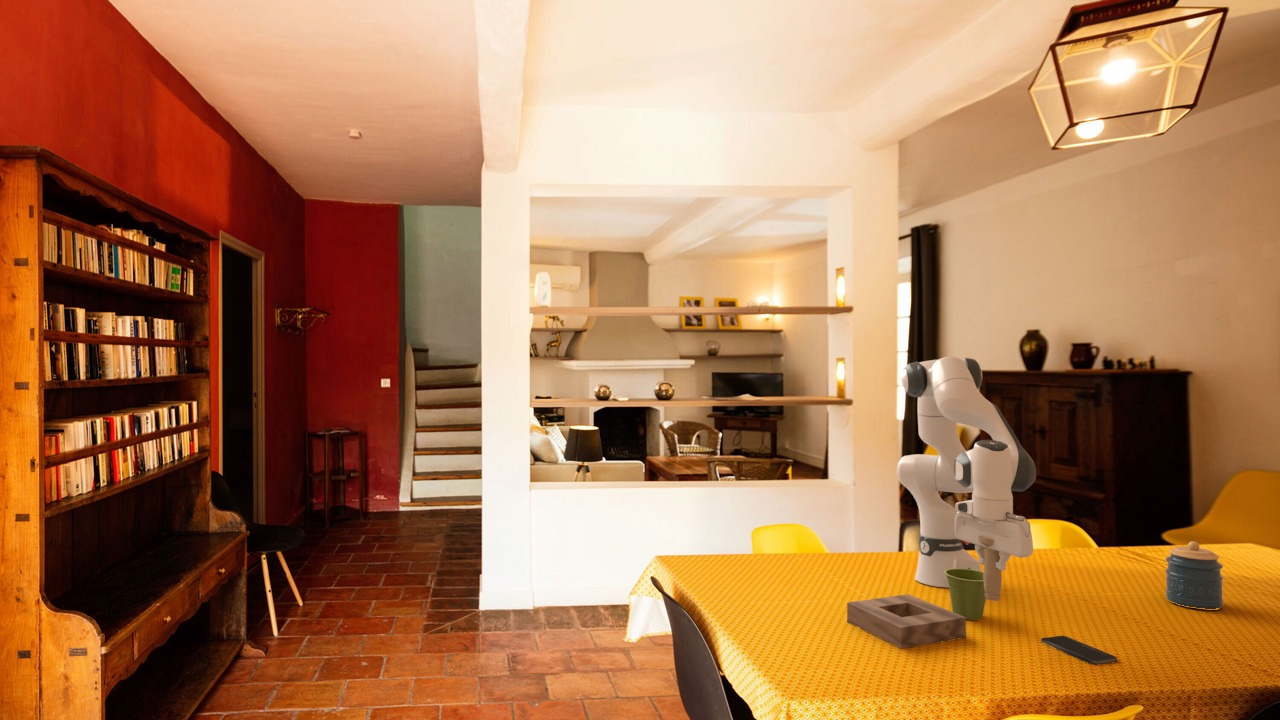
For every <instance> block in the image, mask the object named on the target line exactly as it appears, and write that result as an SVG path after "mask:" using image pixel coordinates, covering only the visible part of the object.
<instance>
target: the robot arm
mask: <svg viewBox="0 0 1280 720" xmlns="http://www.w3.org/2000/svg"><path fill="white" fill-rule="evenodd" d="M982 381H983V372H982V368H981V365H980V364H979V362H978V361H977V360H976V359H975V358H974V359H973V358H970V357H962V358H958V357H956V356H944V357H941V358H939V359H931V360H924V361H920V362H919V361H914V362H910V363H908V364H906V365H905V367H904V368H903V371H902V375H901V382H902V387H903V388H904V391H905V393H906V394H907V395H909V396H910V397H913V398H917V426H918V427H917V428H918V436H919V438H920V439H921V441H923V443H924V444H926V445H928V446H930V447H932V448H933V449H934V450H936V452H937V453H938V454H937V455H935V454H934V455H933V454H923V453H922V454H920V453H919V454H918V453H917V454H909V455H903V456H902V457H901V458H900V460H899V461H898V462H897V465H896V471H895V473H896V477H897V479H898V481H899V482H900V484H901V485H902V486H904V487H905V488H906V489H907V490H908V491H909V492H910V494H911V495H912V496H913V499H914V500H915V502H916V505H917V507H918V512H919V522H920V524H919V525H920V528H919V530H920V533H919V534H918V546H919V553H918V561H917V568H916V571H915V576H914V579H915V581H917V582H919V583H921V584H924V585H927V586H931V587H938V588H949V584H948V582H947V576H946V574H945V573H944V571H945V570H947V569H953V568H962V569H972V570H977V571H981V570H982V569H981V565H983V566H984V558H985V547H986V546H985V545H983V544H982V543H980V542H979V541H978V536H979V535H980V536H983V537H987V538H991V539H994V541H993V545H991V546H989V547H988V548H990V549H993V550H996V551H999V556H1000V560H999V561H997V562H996V569H998V570H1001V572H1002V571H1006V570H1007V563H1008V561H1009V560H1010V558H1011V556H1014V557H1017V558H1021V559H1022V558H1029V557H1031V556H1032V555H1033V554H1034V544H1033V535H1032V529H1031V523H1030V522H1029V521H1028V519H1027V518H1026V517H1025V516H1023V515H1018V514H1015V513H1014V508H1013V507H1014V502H1013V501H1014V496H1013V493H1012V492H1021V493H1022V492H1025V491H1026V490H1028V489H1029V488H1030V487H1031V486H1032V485H1033V484H1034V482H1035V481H1036V479H1037V468H1036V464H1035V462H1034V459H1032V457H1031V455H1029V453H1028V452H1027V451H1026V450H1025V448H1024V447H1023V446H1022V444H1021V443H1020V440H1019V439H1018V437H1017V435H1016V434H1015V431H1014V430H1013V429H1012V428H1011V426H1010V425H1009V422H1008V421H1007V419H1006V417H1005V415H1003V413H1002V411H1001V410H1000V408H999V407H998V406H997V405H996V404H995V403H993V402H990V401H989V400H988V398H987V399H986V398H985V396H984V395H983V394H982V393H981V392H980V391H979V389H980V388H981V386H982ZM958 424H962V425H965V426H969V427H974V428H977V429H979V430H981V431H984V432H986V433H987V434H988V435H989V436H990V437H991V439H982V440H978V441H976V442H975V443H974V445H973V448H972V449H969V450H966V449H965V447H964V446H963V444H962V442H961V440H960V436H959V431H958ZM939 492H943V493H944V492H945V493H946V492H947V493H954V494H956V493H957V494H967V493H972V494H971V499H968V500H965V501H959V502H956V503H955V504H954V505H955V506H953V505H951V504H950V503H948V502H946V501H945V500H943V499H942V498H941V496H940V494H939ZM963 544H964V545H967V546H968V545H969V544H973V545H974V550H975V553H976V554H977V556H978V559H977V558H975V557H974V556H973V555H972V554H970V553H969V552H968V551H967V550H965V549H964V545H963Z"/></svg>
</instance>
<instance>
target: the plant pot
mask: <svg viewBox="0 0 1280 720" xmlns="http://www.w3.org/2000/svg"><path fill="white" fill-rule="evenodd" d="M944 573H945V574H946V576H947V582H948V584H949V595H950V596H949V597H950V604H951V610H952V611H951V612H954V613H956V614H959V615H961V616H964V617H966V620H967V619H968V620H967V621H979V620H981V619H982V618H983V616H984V612H985V611H984V610H985V606H986V600H987V599H986V598H985V593H986V592H985V590H984V579H983V573H984V571H977V570H972V569H962V568H953V569H947V570H945V571H944ZM978 619H979V620H978Z"/></svg>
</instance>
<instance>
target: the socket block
mask: <svg viewBox="0 0 1280 720" xmlns="http://www.w3.org/2000/svg"><path fill="white" fill-rule="evenodd" d="M846 603H847V605H846V609H847V610H846V611H847V612H846V616H847V621H846V622H847V623H849V624H850V625H853V626H854V625H855V627H856V626H858V627H860V628H861V629H860V628H859V629H860V630H862V629H863V631H864V630H865V631H864V632H866V631H867V632H866V633H868V632H869V633H868V634H870V633H871V634H870V635H872V636H874V635H875V636H874V637H876V636H877V637H876V638H878V637H879V638H878V639H880V638H881V639H880V640H882V639H883V640H882V641H884V640H885V641H884V642H886V641H887V642H886V643H888V642H889V643H888V644H890V643H891V644H890V645H892V644H893V645H892V646H894V645H895V646H894V647H896V646H897V647H896V648H899V649H900V650H902V648H904V649H909V648H908V647H910V648H914V647H915V646H916V647H921V646H926V645H927V646H928V645H933V644H938V643H937V642H939V643H942V642H941V641H945V642H949V641H948V640H951V641H954V640H953V639H957V640H959V639H958V638H962V639H965V638H964V637H966V638H967V619H966V617H964V616H961V615H959V614H956V613H954V612H953V611H951V610H948V609H946V608H945V607H944V608H943V607H941V606H938V605H936V604H933V603H931V602H929V601H926V600H924V599H921V598H918V597H916V596H914V595H911V594H900V595H899V594H898V595H893V596H885V597H879V598H878V597H877V598H871V599H865V600H864V599H863V600H855V601H849V602H848V601H847V602H846ZM858 627H857V628H858Z"/></svg>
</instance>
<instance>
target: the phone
mask: <svg viewBox="0 0 1280 720" xmlns="http://www.w3.org/2000/svg"><path fill="white" fill-rule="evenodd" d="M1041 642H1043V643H1045V644H1047V645H1049V646H1048V647H1050V646H1052V647H1054V648H1056V649H1058V650H1057V651H1059V650H1060V651H1059V652H1061V651H1062V652H1061V653H1063V652H1064V653H1063V654H1066V655H1068V656H1070V655H1071V657H1072V656H1073V658H1075V659H1077V660H1080V661H1082V662H1084V661H1085V662H1084V663H1086V662H1088V663H1087V664H1089V663H1090V664H1089V665H1092V664H1094V665H1093V666H1098V664H1100V665H1105V664H1112V662H1114V663H1117V662H1118V656H1115V655H1113V654H1111V653H1108V652H1105V651H1104V650H1101V649H1098V648H1096V647H1094V646H1092V645H1088V644H1087V643H1083V642H1081V641H1079V640H1077V639H1074V638H1071V637H1069V636H1066V635H1055V636H1048V637H1042V638H1040V643H1041ZM1043 643H1042V644H1043ZM1045 644H1044V645H1045ZM1047 645H1046V646H1047ZM1052 647H1051V648H1052ZM1054 648H1053V649H1054ZM1056 649H1055V650H1056Z"/></svg>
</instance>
